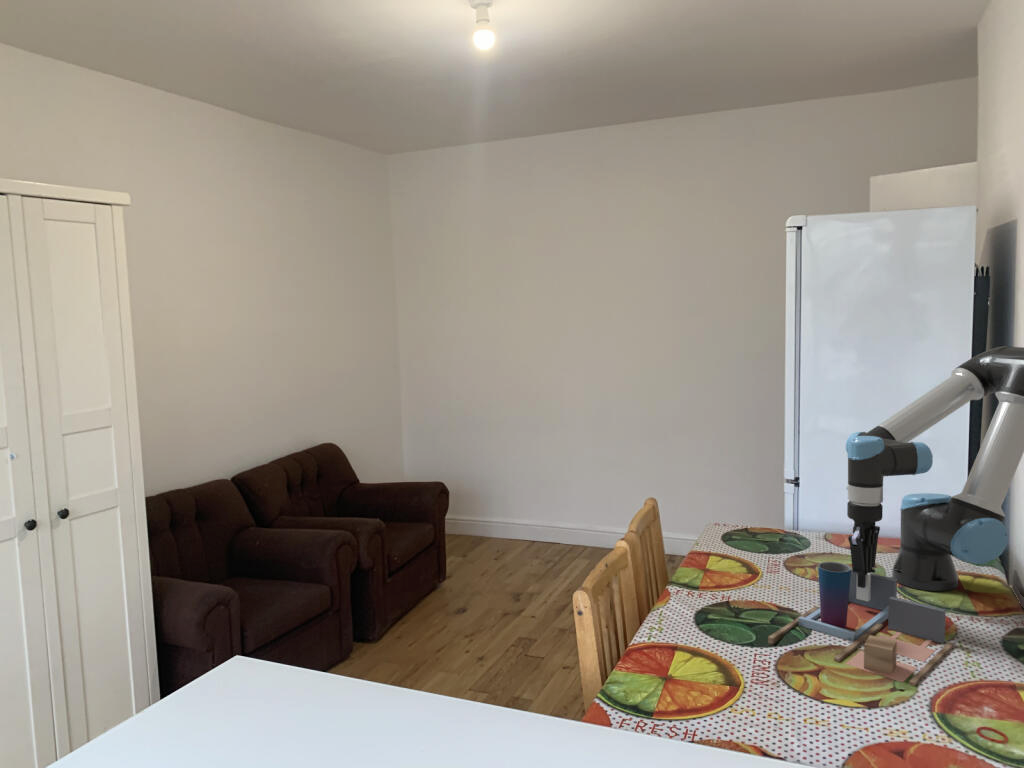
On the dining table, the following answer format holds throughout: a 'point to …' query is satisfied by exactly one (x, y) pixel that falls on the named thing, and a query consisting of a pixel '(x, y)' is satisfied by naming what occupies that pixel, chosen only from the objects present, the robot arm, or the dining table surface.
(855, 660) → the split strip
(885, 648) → the walnut cube
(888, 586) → the frame
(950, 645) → the lane guides
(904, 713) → the dining table surface
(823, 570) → the cup
